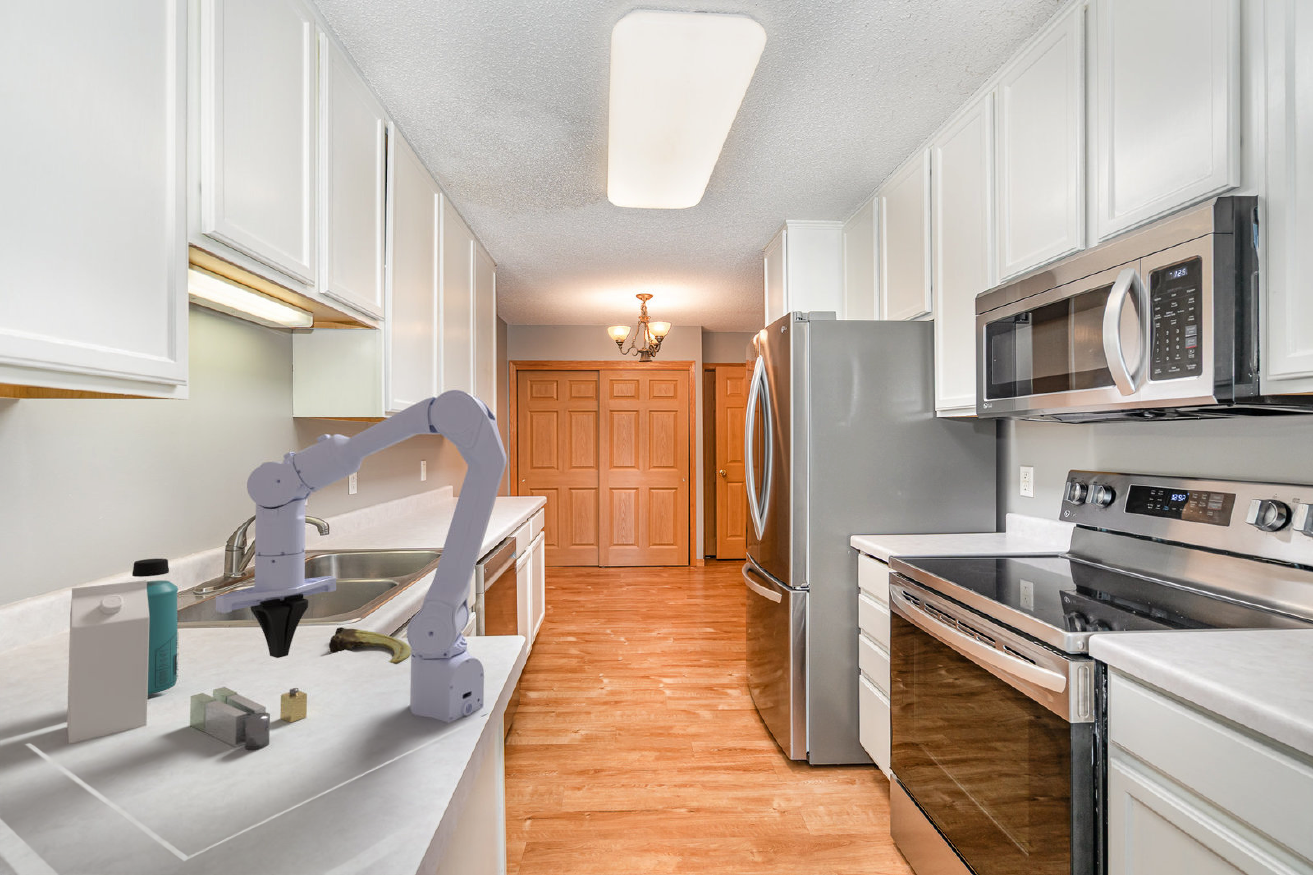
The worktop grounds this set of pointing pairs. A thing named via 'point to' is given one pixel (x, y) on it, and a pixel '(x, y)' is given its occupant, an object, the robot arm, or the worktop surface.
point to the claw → (368, 642)
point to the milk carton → (108, 660)
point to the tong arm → (237, 701)
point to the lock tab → (293, 705)
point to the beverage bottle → (160, 625)
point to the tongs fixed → (229, 722)
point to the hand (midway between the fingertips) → (279, 655)
